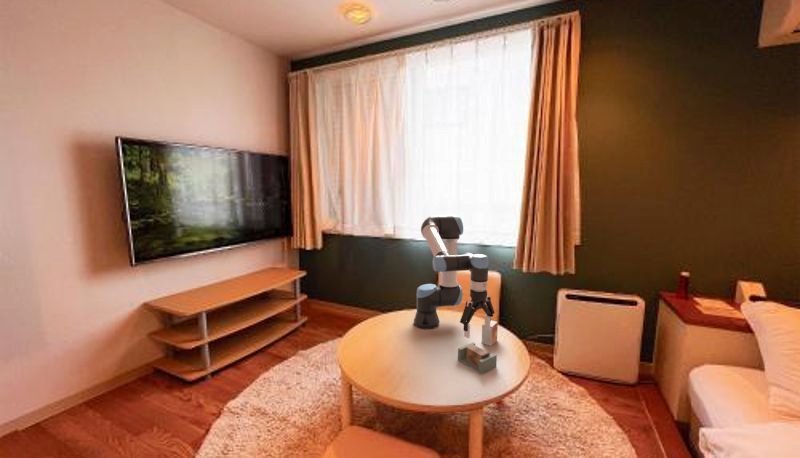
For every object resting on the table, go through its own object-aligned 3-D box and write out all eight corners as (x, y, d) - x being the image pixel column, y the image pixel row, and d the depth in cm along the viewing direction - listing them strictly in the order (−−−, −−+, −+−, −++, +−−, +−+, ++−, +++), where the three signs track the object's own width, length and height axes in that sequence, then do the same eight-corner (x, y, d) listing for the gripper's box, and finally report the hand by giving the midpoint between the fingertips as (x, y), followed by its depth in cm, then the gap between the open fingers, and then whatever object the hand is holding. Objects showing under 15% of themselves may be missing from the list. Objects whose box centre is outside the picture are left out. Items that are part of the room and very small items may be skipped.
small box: (491, 346, 169) (492, 327, 167) (481, 343, 172) (481, 324, 171) (497, 340, 175) (498, 321, 173) (487, 337, 178) (488, 319, 177)
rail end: (466, 358, 155) (466, 346, 154) (472, 355, 158) (473, 344, 157) (482, 368, 147) (482, 356, 146) (489, 365, 150) (489, 352, 149)
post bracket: (457, 360, 156) (458, 348, 155) (472, 353, 162) (472, 342, 161) (481, 374, 144) (481, 362, 143) (496, 367, 150) (496, 355, 149)
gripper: (465, 297, 138) (463, 344, 141) (503, 285, 151) (501, 328, 155) (452, 292, 144) (451, 337, 147) (490, 281, 158) (489, 322, 161)
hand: (477, 333), depth 151 cm, fingers open, 13 cm apart
